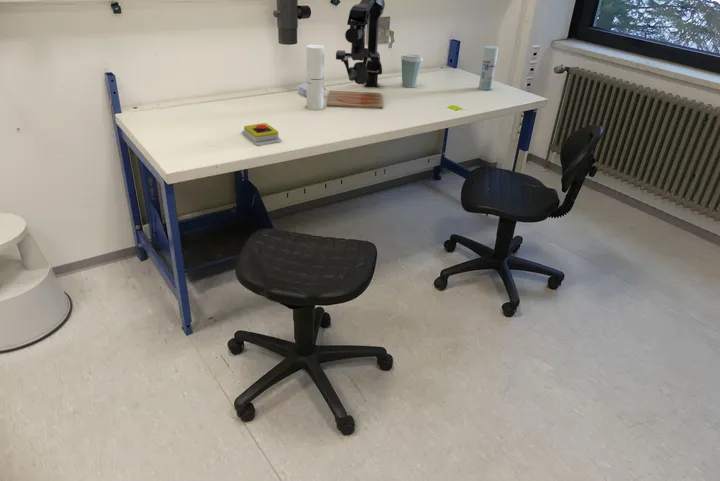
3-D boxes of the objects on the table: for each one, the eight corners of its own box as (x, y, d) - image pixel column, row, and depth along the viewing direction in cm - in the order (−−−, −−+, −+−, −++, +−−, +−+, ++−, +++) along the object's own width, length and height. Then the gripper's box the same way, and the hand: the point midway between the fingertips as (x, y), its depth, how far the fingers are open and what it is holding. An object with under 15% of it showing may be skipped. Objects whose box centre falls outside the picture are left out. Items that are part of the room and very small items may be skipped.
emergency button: (256, 133, 185) (240, 121, 196) (257, 145, 188) (241, 132, 198) (281, 130, 190) (263, 117, 200) (281, 141, 192) (264, 129, 203)
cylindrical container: (320, 110, 226) (321, 48, 213) (304, 108, 227) (304, 47, 214) (325, 105, 232) (326, 45, 219) (309, 104, 233) (309, 43, 220)
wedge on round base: (326, 97, 243) (313, 89, 252) (327, 82, 239) (313, 75, 249) (309, 99, 239) (296, 91, 248) (309, 84, 235) (296, 77, 244)
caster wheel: (369, 87, 233) (355, 75, 243) (371, 65, 227) (356, 54, 238) (357, 88, 231) (343, 76, 241) (359, 66, 225) (345, 55, 235)
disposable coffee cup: (395, 83, 269) (398, 52, 261) (415, 82, 272) (418, 52, 264) (403, 89, 260) (406, 57, 253) (423, 88, 263) (427, 56, 256)
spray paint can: (475, 87, 269) (482, 45, 259) (486, 86, 272) (493, 45, 262) (483, 90, 264) (490, 48, 254) (494, 89, 267) (501, 48, 257)
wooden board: (329, 92, 250) (329, 90, 249) (380, 94, 250) (380, 92, 250) (327, 106, 231) (327, 104, 230) (382, 108, 232) (382, 106, 231)
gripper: (335, 41, 220) (335, 79, 228) (381, 43, 221) (378, 81, 229) (336, 36, 230) (335, 73, 238) (380, 38, 230) (377, 75, 238)
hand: (356, 76), depth 235 cm, fingers closed on caster wheel, 7 cm apart
